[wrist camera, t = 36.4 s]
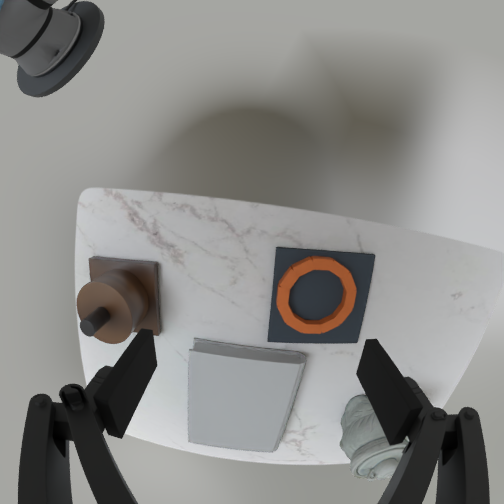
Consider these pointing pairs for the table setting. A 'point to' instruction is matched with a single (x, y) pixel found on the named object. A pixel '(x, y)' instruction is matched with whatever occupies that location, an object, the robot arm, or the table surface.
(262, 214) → the table surface
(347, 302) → the ring
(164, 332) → the table surface
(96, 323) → the ring stand
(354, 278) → the mat
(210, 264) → the table surface
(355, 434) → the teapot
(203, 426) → the book
